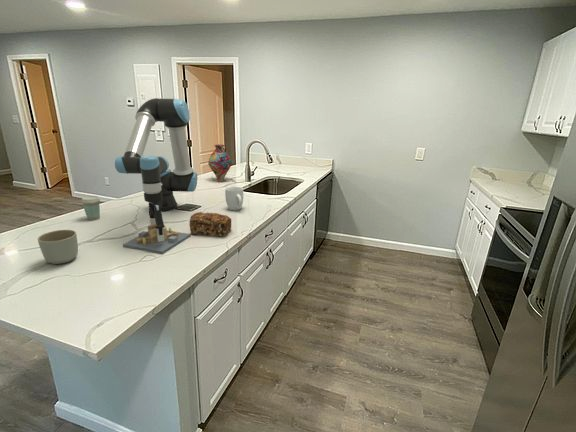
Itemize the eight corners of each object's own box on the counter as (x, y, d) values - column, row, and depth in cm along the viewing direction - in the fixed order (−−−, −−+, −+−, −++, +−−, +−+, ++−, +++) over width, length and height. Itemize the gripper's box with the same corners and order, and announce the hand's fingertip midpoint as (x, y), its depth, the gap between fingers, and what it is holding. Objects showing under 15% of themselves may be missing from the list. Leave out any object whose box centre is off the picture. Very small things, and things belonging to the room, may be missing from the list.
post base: (123, 246, 141) (121, 233, 139) (154, 230, 160) (153, 219, 158) (163, 254, 136) (161, 240, 134) (190, 236, 155) (189, 224, 153)
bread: (189, 234, 157) (188, 215, 154) (198, 227, 167) (197, 209, 164) (225, 238, 155) (224, 218, 151) (232, 230, 165) (232, 211, 161)
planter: (39, 269, 120) (33, 243, 117) (48, 256, 131) (42, 231, 127) (78, 264, 125) (72, 239, 121) (83, 251, 136) (78, 228, 132)
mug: (249, 211, 193) (249, 191, 189) (232, 214, 187) (232, 193, 183) (239, 205, 205) (238, 185, 201) (223, 207, 199) (222, 187, 195)
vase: (210, 178, 275) (209, 143, 265) (232, 178, 277) (231, 143, 267) (207, 183, 257) (205, 146, 248) (231, 183, 260) (230, 146, 250)
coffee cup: (106, 217, 176) (102, 196, 172) (91, 222, 168) (87, 200, 164) (96, 215, 179) (92, 194, 175) (81, 219, 172) (76, 198, 168)
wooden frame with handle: (138, 245, 140) (136, 233, 138) (136, 239, 146) (134, 227, 144) (179, 238, 149) (178, 226, 147) (176, 233, 155) (175, 221, 153)
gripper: (168, 197, 132) (173, 243, 139) (155, 184, 152) (160, 226, 159) (149, 199, 128) (155, 247, 135) (138, 186, 148) (144, 228, 155)
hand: (157, 235), depth 147 cm, fingers open, 13 cm apart
